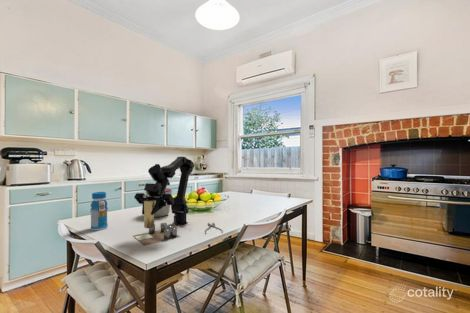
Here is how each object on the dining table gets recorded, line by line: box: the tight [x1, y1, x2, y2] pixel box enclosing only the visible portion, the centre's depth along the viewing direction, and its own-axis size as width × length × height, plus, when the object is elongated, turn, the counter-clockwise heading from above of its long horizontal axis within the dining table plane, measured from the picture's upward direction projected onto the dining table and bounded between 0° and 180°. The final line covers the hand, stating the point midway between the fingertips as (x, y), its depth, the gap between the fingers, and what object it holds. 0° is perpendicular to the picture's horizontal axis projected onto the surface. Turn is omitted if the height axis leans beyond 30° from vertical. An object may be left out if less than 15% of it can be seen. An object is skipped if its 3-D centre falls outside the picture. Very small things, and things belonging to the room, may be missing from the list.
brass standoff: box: [143, 200, 155, 229], centre depth 108 cm, size 4×4×12 cm
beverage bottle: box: [89, 191, 109, 231], centre depth 130 cm, size 8×8×20 cm
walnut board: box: [132, 229, 181, 247], centre depth 113 cm, size 18×17×1 cm
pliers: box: [204, 222, 224, 235], centre depth 129 cm, size 10×1×20 cm
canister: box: [144, 187, 173, 218], centre depth 159 cm, size 18×18×21 cm
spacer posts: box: [148, 222, 178, 241], centre depth 116 cm, size 9×16×4 cm, turn 40°
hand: (147, 214), depth 107 cm, fingers closed on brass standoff, 4 cm apart
